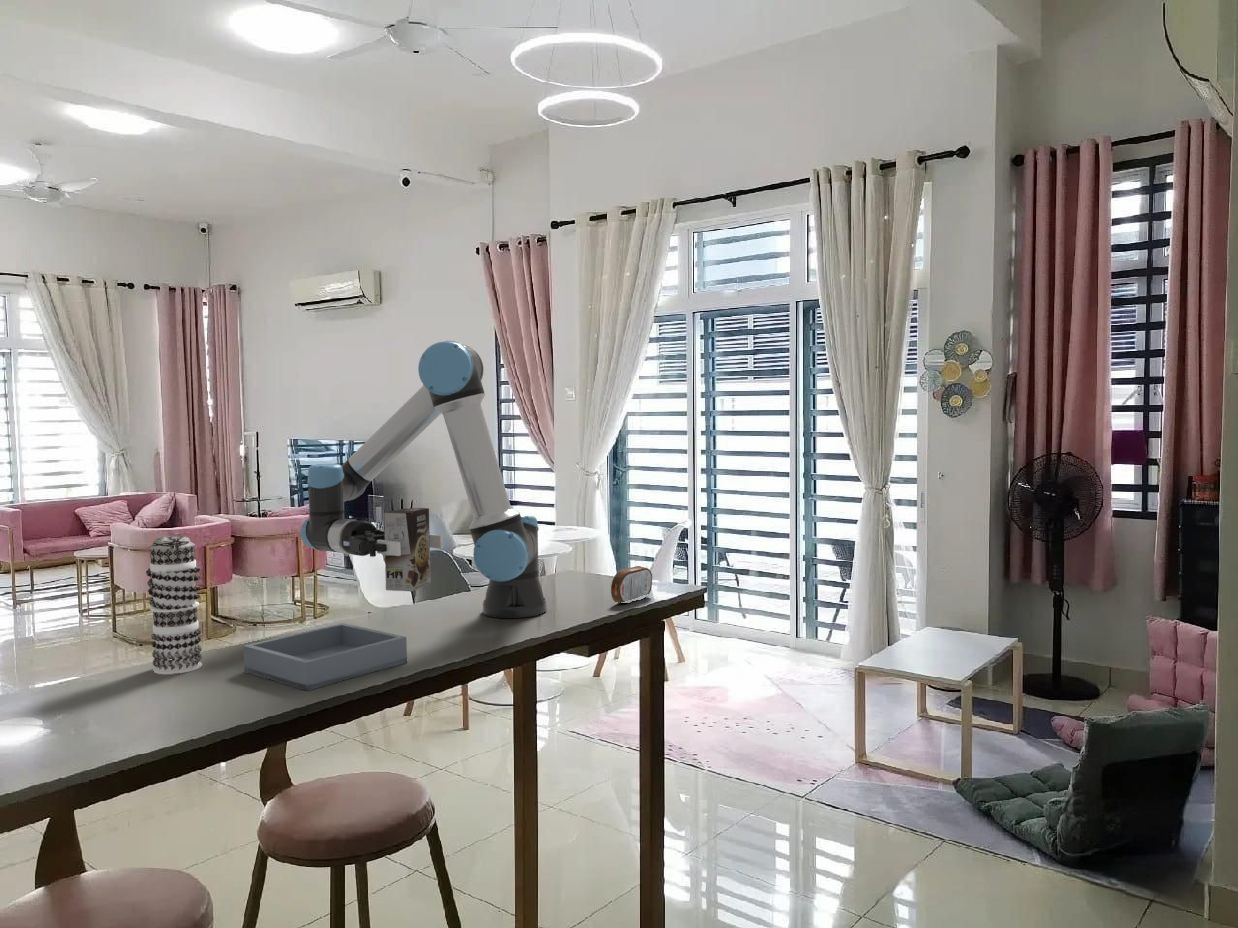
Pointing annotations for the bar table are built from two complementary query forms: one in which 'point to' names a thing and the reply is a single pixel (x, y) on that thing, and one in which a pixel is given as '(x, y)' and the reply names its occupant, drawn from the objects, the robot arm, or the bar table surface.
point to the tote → (324, 655)
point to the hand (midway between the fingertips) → (421, 545)
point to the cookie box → (408, 549)
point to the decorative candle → (174, 605)
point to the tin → (631, 583)
